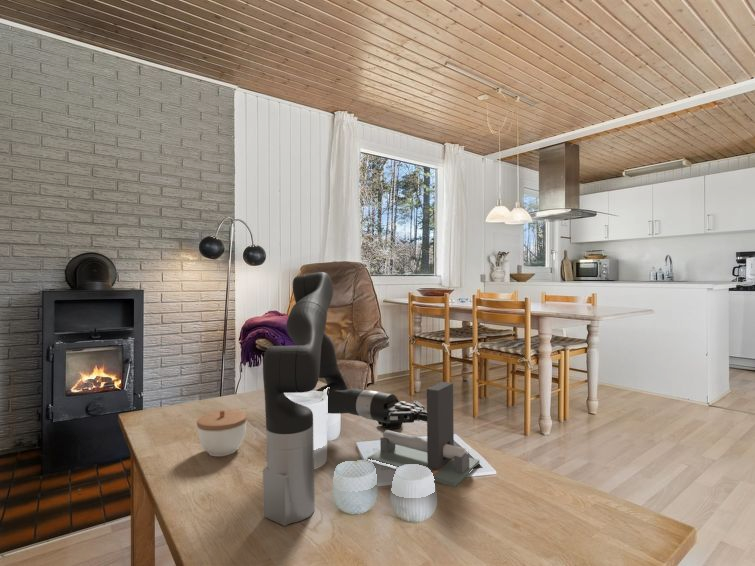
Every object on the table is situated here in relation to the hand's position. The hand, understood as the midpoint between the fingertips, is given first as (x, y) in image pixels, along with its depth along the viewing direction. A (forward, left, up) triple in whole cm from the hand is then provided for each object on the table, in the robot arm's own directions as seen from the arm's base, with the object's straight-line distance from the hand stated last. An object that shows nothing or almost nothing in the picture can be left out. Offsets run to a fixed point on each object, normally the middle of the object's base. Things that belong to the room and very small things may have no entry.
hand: (434, 417), depth 107 cm
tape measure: (+17, +25, -12) cm, 33 cm away
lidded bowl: (-23, +52, -12) cm, 58 cm away
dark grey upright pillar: (0, -1, -11) cm, 11 cm away
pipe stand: (0, +4, -12) cm, 12 cm away
